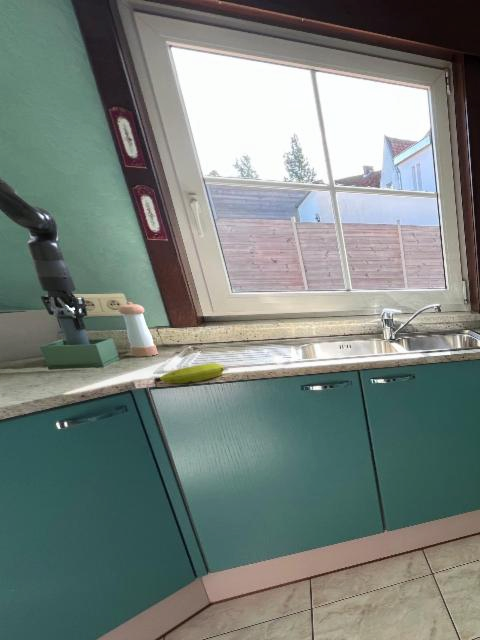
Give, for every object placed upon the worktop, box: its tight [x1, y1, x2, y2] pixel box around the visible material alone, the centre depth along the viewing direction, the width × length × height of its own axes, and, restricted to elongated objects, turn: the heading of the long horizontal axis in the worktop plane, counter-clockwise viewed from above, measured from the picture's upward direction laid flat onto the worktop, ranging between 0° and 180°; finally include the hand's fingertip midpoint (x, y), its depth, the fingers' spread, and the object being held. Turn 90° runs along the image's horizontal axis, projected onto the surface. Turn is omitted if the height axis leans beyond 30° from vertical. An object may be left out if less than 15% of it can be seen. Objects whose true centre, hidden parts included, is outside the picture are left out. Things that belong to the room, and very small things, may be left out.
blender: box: [56, 313, 91, 345], centre depth 163 cm, size 6×6×13 cm
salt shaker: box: [118, 301, 159, 358], centre depth 179 cm, size 7×7×19 cm
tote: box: [39, 337, 121, 371], centre depth 165 cm, size 14×14×8 cm
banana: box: [153, 362, 226, 384], centre depth 154 cm, size 5×17×15 cm
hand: (73, 328), depth 162 cm, fingers closed on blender, 5 cm apart
